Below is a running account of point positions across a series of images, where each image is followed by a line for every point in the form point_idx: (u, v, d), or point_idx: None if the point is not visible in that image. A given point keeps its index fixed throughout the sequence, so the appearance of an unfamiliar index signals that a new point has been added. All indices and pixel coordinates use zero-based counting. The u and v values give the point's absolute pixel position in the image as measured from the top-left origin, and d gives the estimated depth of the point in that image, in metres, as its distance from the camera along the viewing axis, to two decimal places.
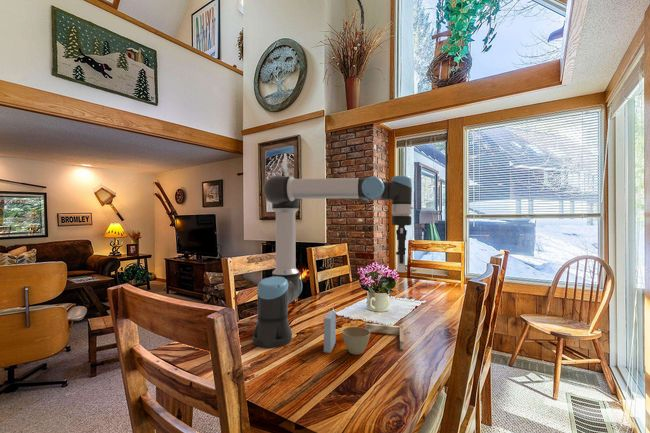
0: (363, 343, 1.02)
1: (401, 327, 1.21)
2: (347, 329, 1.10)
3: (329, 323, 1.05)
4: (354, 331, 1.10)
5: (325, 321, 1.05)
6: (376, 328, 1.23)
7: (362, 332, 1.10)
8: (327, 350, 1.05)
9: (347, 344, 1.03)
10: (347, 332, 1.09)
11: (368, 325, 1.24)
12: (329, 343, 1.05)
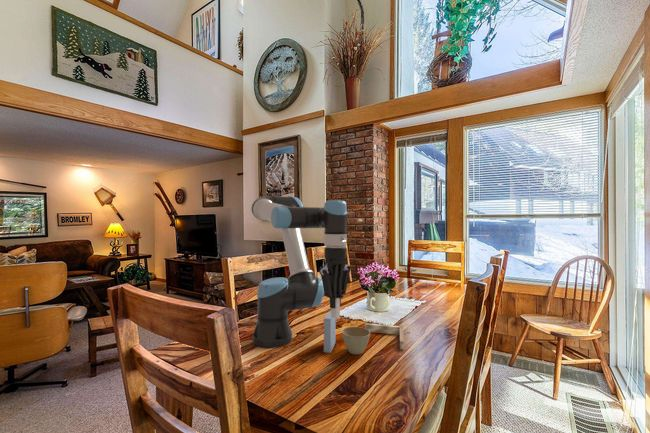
0: (363, 343, 1.02)
1: (401, 327, 1.21)
2: (347, 329, 1.10)
3: (329, 323, 1.05)
4: (354, 331, 1.10)
5: (325, 321, 1.05)
6: (376, 328, 1.23)
7: (362, 332, 1.10)
8: (327, 350, 1.05)
9: (347, 344, 1.03)
10: (347, 332, 1.10)
11: (368, 325, 1.24)
12: (329, 343, 1.05)
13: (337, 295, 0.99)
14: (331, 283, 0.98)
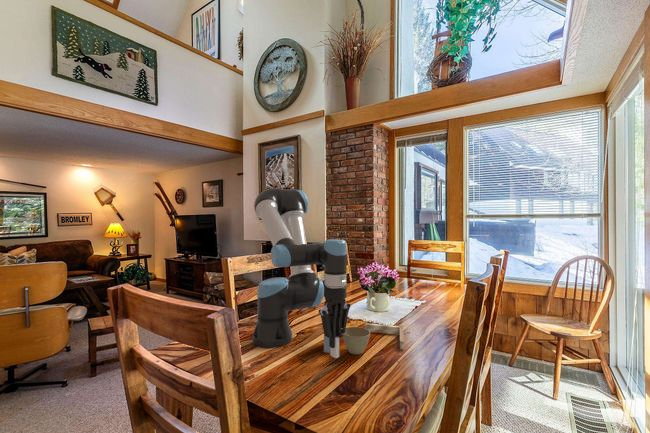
0: (363, 343, 1.02)
1: (401, 327, 1.21)
2: (347, 329, 1.10)
3: None
4: (354, 331, 1.10)
5: None
6: (376, 328, 1.23)
7: (362, 332, 1.10)
8: (327, 350, 1.05)
9: (347, 344, 1.03)
10: (347, 332, 1.09)
11: (368, 325, 1.24)
12: None
13: (337, 334, 0.99)
14: (331, 323, 0.98)
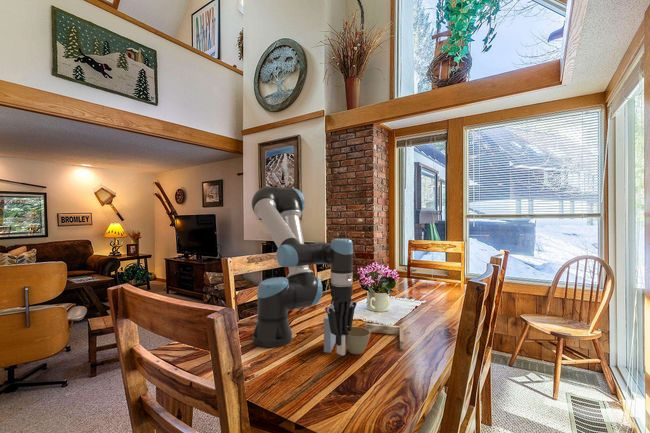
0: (363, 343, 1.02)
1: (401, 327, 1.21)
2: None
3: None
4: (354, 331, 1.10)
5: (325, 321, 1.05)
6: (376, 328, 1.23)
7: (362, 332, 1.10)
8: (327, 350, 1.05)
9: (347, 344, 1.03)
10: None
11: (368, 325, 1.24)
12: (329, 343, 1.05)
13: (343, 332, 1.01)
14: (337, 320, 1.00)
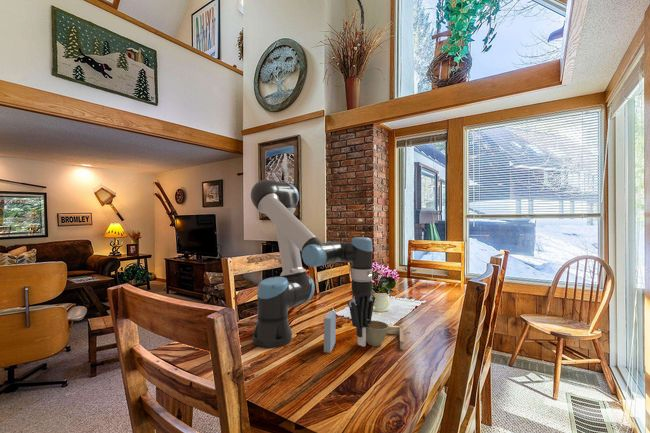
0: (382, 335, 1.09)
1: (401, 327, 1.21)
2: None
3: (329, 323, 1.05)
4: (372, 325, 1.17)
5: (325, 321, 1.05)
6: None
7: (380, 326, 1.16)
8: (327, 350, 1.05)
9: (367, 336, 1.10)
10: None
11: None
12: (329, 343, 1.05)
13: (363, 324, 1.08)
14: (358, 314, 1.06)
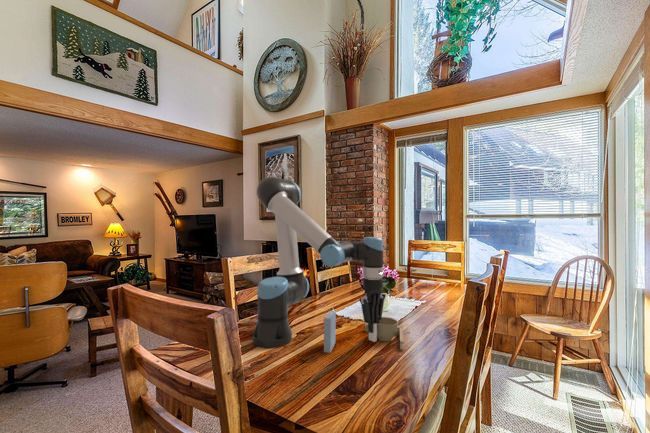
0: (392, 331, 1.13)
1: (401, 327, 1.21)
2: None
3: (329, 323, 1.05)
4: (382, 321, 1.22)
5: (325, 321, 1.05)
6: None
7: (389, 322, 1.21)
8: (327, 350, 1.05)
9: (377, 332, 1.14)
10: None
11: None
12: (329, 343, 1.05)
13: (374, 321, 1.12)
14: (369, 310, 1.11)
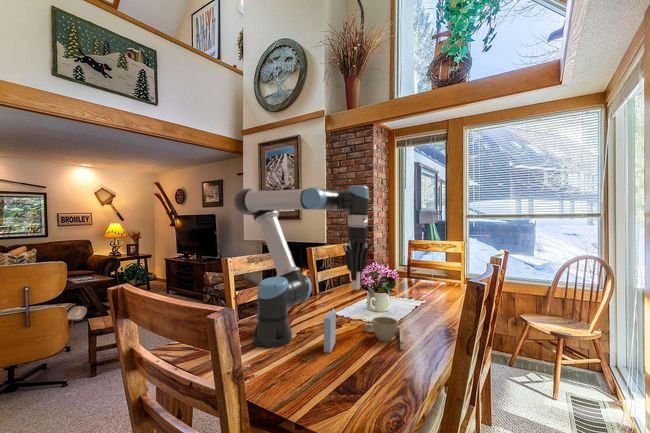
0: (392, 331, 1.13)
1: (401, 327, 1.21)
2: (376, 319, 1.21)
3: (329, 323, 1.05)
4: (382, 321, 1.22)
5: (325, 321, 1.05)
6: None
7: (389, 322, 1.21)
8: (327, 350, 1.05)
9: (377, 332, 1.14)
10: (376, 322, 1.21)
11: (368, 325, 1.24)
12: (329, 343, 1.05)
13: (358, 269, 1.12)
14: (353, 258, 1.11)
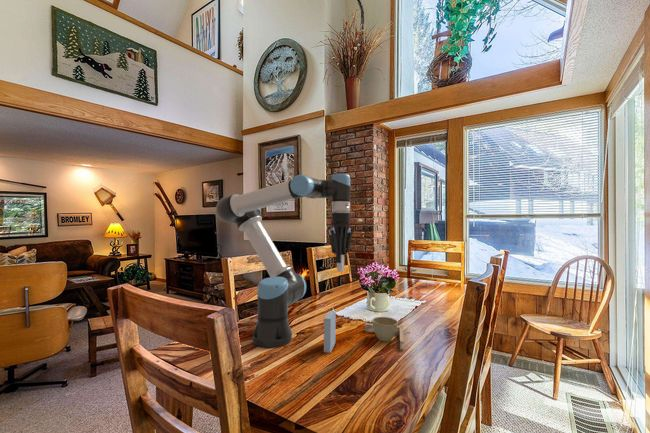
0: (392, 331, 1.13)
1: (401, 327, 1.21)
2: (376, 319, 1.21)
3: (329, 323, 1.05)
4: (382, 321, 1.22)
5: (325, 321, 1.05)
6: None
7: (389, 322, 1.21)
8: (327, 350, 1.05)
9: (377, 332, 1.14)
10: (376, 322, 1.21)
11: (368, 325, 1.24)
12: (329, 343, 1.05)
13: (342, 252, 1.20)
14: (337, 242, 1.18)
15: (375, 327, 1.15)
